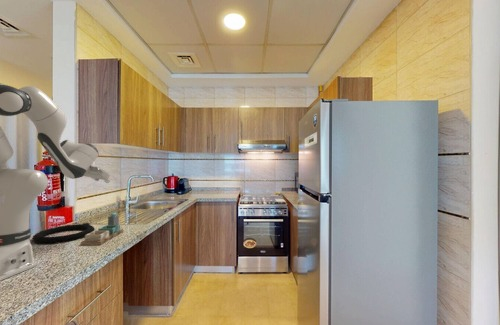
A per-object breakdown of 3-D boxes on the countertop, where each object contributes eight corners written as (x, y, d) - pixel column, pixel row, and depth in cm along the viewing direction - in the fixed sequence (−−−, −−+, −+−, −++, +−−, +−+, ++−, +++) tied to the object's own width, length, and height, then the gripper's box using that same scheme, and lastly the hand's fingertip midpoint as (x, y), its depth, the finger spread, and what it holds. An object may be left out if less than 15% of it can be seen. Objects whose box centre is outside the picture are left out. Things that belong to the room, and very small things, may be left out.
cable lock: (16, 237, 121) (67, 221, 150) (16, 244, 121) (67, 227, 150) (66, 238, 118) (108, 222, 148) (66, 246, 118) (108, 228, 148)
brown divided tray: (100, 245, 118) (100, 236, 118) (80, 245, 118) (80, 236, 118) (123, 231, 140) (123, 224, 140) (106, 232, 140) (106, 224, 140)
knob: (113, 230, 143) (113, 213, 143) (108, 229, 144) (108, 213, 144) (118, 228, 147) (118, 212, 147) (113, 228, 148) (113, 212, 148)
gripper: (101, 162, 123) (118, 178, 133) (78, 159, 132) (96, 174, 142) (92, 172, 120) (111, 187, 130) (69, 168, 128) (88, 183, 138)
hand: (103, 181), depth 136 cm, fingers open, 8 cm apart
